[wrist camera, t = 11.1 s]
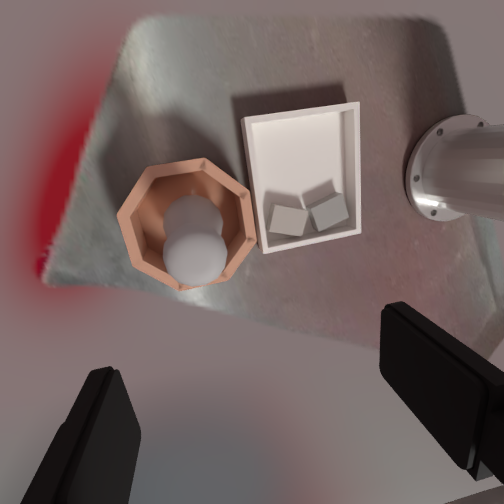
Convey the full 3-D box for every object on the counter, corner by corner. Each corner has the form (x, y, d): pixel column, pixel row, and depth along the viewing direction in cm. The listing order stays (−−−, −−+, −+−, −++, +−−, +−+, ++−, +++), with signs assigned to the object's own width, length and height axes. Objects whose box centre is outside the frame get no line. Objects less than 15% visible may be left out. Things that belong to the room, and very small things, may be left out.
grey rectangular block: (335, 191, 33) (342, 193, 32) (342, 214, 34) (349, 217, 33) (305, 206, 33) (310, 208, 32) (313, 228, 34) (318, 232, 33)
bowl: (235, 152, 30) (243, 151, 25) (252, 257, 34) (261, 272, 29) (116, 171, 28) (103, 173, 23) (149, 279, 32) (143, 299, 28)
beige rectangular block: (303, 208, 33) (308, 211, 32) (297, 233, 34) (302, 236, 32) (271, 202, 32) (275, 205, 31) (265, 228, 33) (269, 231, 31)
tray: (348, 105, 31) (359, 101, 29) (351, 228, 35) (361, 233, 33) (240, 120, 29) (244, 117, 27) (258, 248, 34) (263, 254, 32)
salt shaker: (168, 187, 29) (153, 208, 17) (224, 196, 30) (247, 222, 18) (162, 242, 30) (144, 298, 18) (215, 248, 32) (232, 304, 20)
